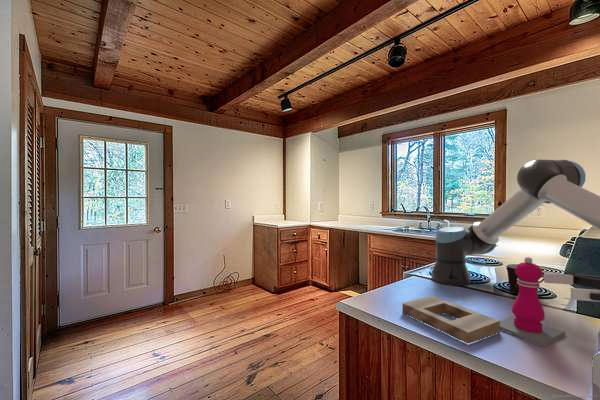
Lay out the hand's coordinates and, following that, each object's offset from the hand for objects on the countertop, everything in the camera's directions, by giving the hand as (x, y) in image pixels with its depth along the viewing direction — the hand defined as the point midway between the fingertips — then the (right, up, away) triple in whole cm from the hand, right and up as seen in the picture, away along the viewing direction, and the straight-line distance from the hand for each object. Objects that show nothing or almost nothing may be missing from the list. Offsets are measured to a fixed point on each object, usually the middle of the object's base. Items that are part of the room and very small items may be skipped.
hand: (556, 285), depth 77 cm
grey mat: (-6, -14, +3) cm, 15 cm away
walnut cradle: (-25, -14, +9) cm, 30 cm away
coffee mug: (+17, -13, +32) cm, 38 cm away
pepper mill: (-6, -13, +3) cm, 14 cm away
